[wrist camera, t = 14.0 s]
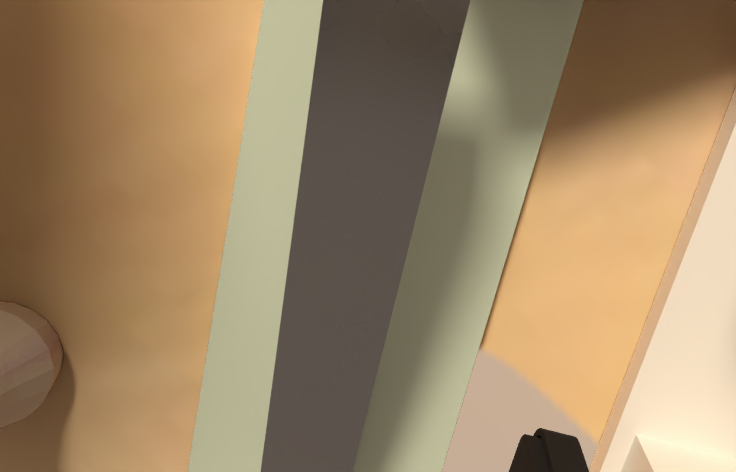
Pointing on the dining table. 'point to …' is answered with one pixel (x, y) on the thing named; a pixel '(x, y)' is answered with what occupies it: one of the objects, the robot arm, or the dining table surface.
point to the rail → (355, 217)
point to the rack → (686, 343)
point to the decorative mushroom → (25, 361)
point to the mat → (427, 245)
